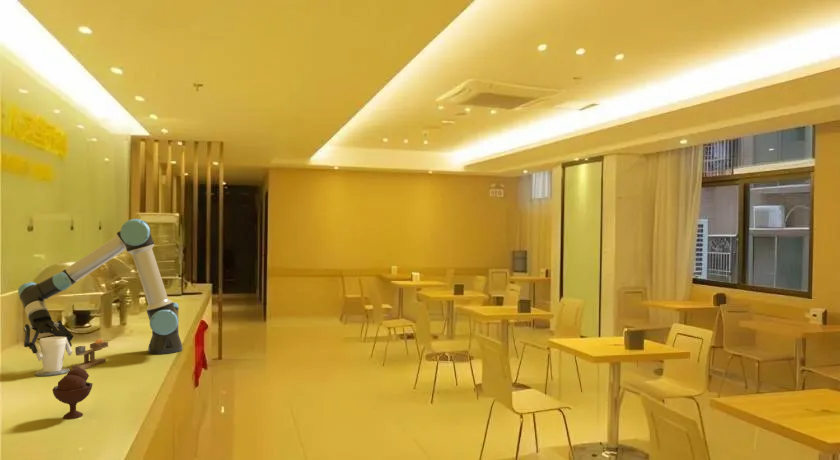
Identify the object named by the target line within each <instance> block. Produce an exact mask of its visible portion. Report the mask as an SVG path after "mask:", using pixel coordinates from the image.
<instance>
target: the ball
mask: <svg viewBox="0 0 840 460" xmlns="http://www.w3.org/2000/svg"><path fill="white" fill-rule="evenodd" d="M103 342H104V340H103V339H101V338H97V339H96V340H95V341H94V343H95V344H102V343H103Z"/></svg>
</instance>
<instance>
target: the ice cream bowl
mask: <svg viewBox="0 0 840 460" xmlns="http://www.w3.org/2000/svg"><path fill="white" fill-rule="evenodd" d="M89 377H90V375H89V373H88V371H87V370H86V369H82V368H74V369H72V368H71V369H70V371H69V372H68V373H66V375H64V376H63V377H62V378H61V379H60V380H59V381H58V382H57V385H56V386H54V387H53V388H52V394H53V397H54V398H55V399H56V400H57V401H59V402H61V403H63V404H66V405H68V406H69V411H68V412H67V413H65V414H64V415H63V417H62V419H63V420H73V419H79V418H82V417H83V415H84V413H83V412H81V411H78V410H77V404H78V403H81V402H82V401H84V400H85V399H86V398H87V397H88V396H89V395H90V393H91V391H92V389H93V385H94V383H92V382H88V381H87V380H88V379H89ZM81 416H82V417H81Z"/></svg>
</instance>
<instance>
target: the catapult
mask: <svg viewBox="0 0 840 460" xmlns="http://www.w3.org/2000/svg"><path fill="white" fill-rule="evenodd" d="M104 348H109V342H108V341H103V343H102V344H95V342H93V343H90V344H89V349H88V350H87V349H86V345H80V346H79V345H78V346H76V347H75V351H74V352H75V356H77V357H78V356H83V362H80V363H78V364H75V365H72V366H71V370H72V369H74V368H82V369H84V370H86V369H90V368H91V367H94V366H98V365H101V364H104V363H106V362H107V361H106V358H102V357H100V358H98V357H97V358H96V357H95V355H96V354H95V353H96V352H98V351H101V350H103V349H104Z"/></svg>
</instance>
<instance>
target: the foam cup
mask: <svg viewBox="0 0 840 460" xmlns="http://www.w3.org/2000/svg"><path fill="white" fill-rule="evenodd" d="M66 343H67V337H56V336H49V337H48V336H47V337H42V338H39V344H38V346H39V348H40V351H41V353H42V356H43V357H42V359H41V363H42V370H44V372H54V371H59V370H62V367H63V363H64V358H65V352H66V349H65V346H66Z"/></svg>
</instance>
